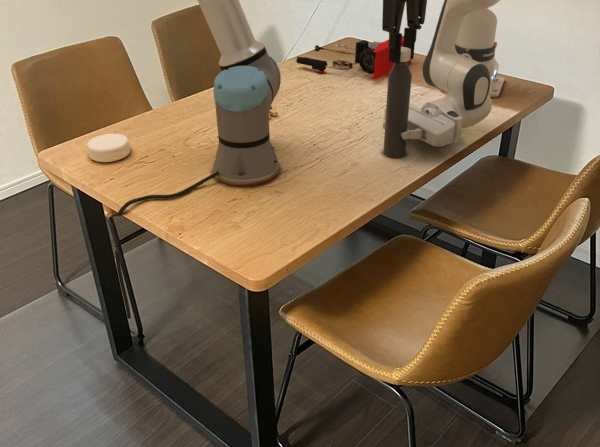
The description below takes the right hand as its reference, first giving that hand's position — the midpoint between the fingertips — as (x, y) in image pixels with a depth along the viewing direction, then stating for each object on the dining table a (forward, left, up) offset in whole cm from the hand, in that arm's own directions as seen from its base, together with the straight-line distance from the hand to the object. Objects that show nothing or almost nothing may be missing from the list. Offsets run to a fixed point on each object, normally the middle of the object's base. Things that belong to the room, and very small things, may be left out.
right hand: (393, 130), depth 149 cm
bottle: (-1, 0, -6) cm, 6 cm away
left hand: (-1, 0, +17) cm, 17 cm away
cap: (-1, 0, +19) cm, 19 cm away
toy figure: (-4, -44, -6) cm, 45 cm away
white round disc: (+37, -59, -6) cm, 70 cm away
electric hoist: (-55, -41, -6) cm, 68 cm away
